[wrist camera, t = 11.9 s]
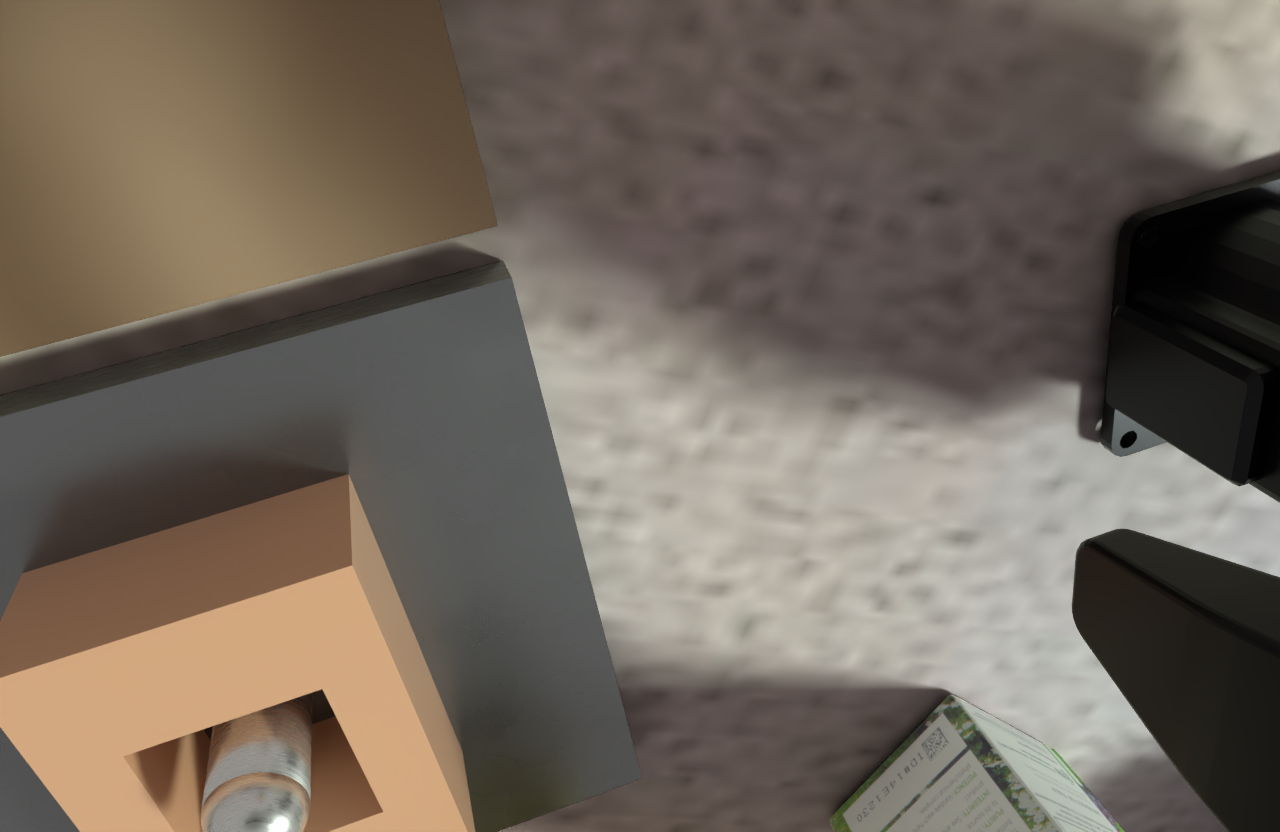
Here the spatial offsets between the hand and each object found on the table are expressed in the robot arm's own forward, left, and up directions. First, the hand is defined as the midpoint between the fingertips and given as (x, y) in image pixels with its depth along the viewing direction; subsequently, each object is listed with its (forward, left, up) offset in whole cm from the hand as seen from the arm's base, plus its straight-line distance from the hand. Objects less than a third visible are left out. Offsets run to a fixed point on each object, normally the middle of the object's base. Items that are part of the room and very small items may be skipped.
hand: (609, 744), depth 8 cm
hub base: (+6, +7, -12) cm, 15 cm away
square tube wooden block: (+6, +7, -11) cm, 14 cm away
